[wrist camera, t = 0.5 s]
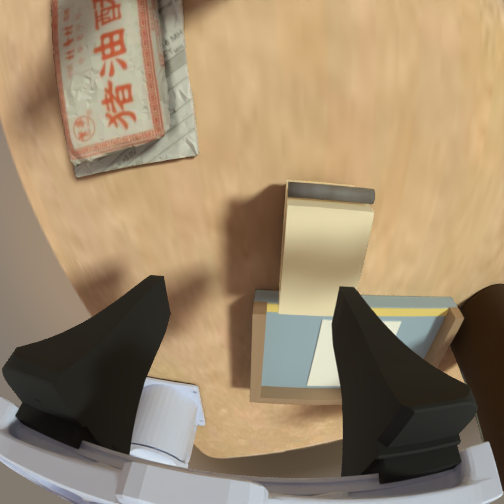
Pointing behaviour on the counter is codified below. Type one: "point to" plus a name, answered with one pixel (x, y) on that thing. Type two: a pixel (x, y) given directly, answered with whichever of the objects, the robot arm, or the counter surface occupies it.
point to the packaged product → (123, 82)
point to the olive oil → (485, 364)
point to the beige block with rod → (322, 244)
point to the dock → (321, 345)
